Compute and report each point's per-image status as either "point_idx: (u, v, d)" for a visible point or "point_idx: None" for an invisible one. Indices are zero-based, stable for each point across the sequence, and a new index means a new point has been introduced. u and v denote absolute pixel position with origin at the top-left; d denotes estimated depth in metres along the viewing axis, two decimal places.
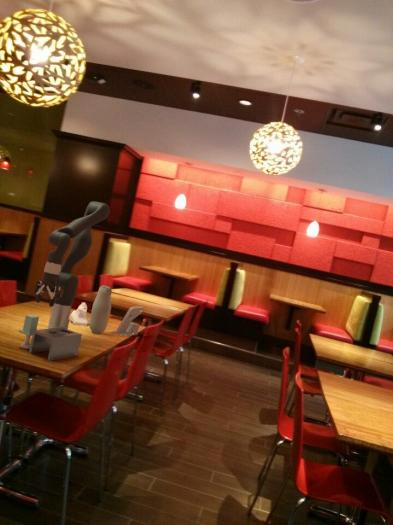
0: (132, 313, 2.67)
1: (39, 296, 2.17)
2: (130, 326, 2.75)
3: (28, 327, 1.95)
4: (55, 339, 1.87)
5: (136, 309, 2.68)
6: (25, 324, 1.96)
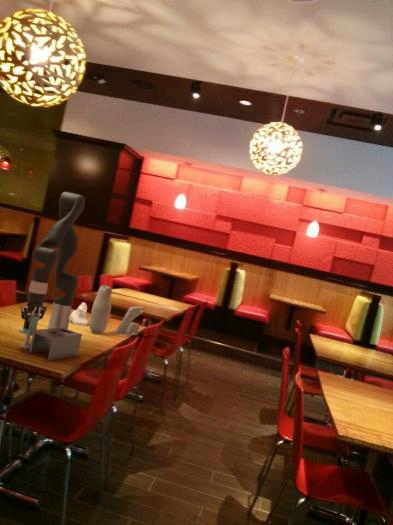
0: (132, 313, 2.66)
1: None
2: (130, 326, 2.74)
3: None
4: (55, 339, 1.87)
5: (136, 309, 2.68)
6: None
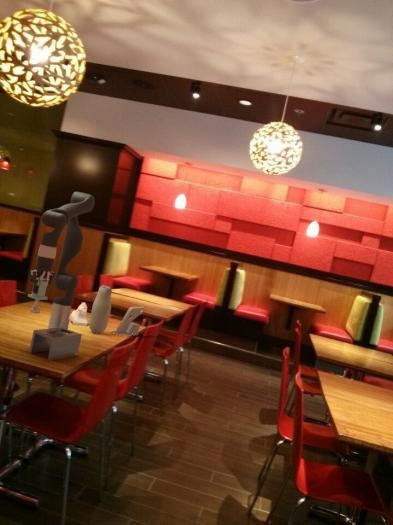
0: (132, 313, 2.66)
1: None
2: (130, 326, 2.74)
3: None
4: (55, 339, 1.87)
5: (136, 309, 2.67)
6: None
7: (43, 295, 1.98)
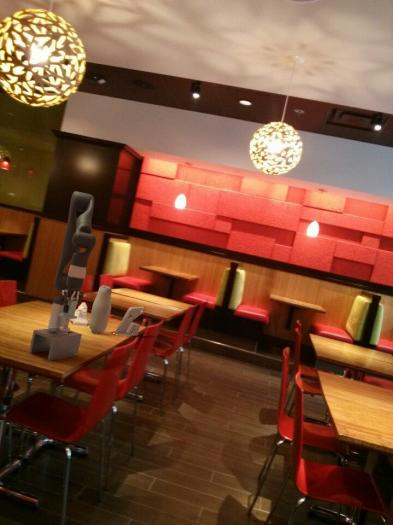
0: (132, 313, 2.66)
1: None
2: (131, 326, 2.74)
3: None
4: (55, 339, 1.87)
5: (136, 309, 2.67)
6: None
7: (73, 314, 2.01)
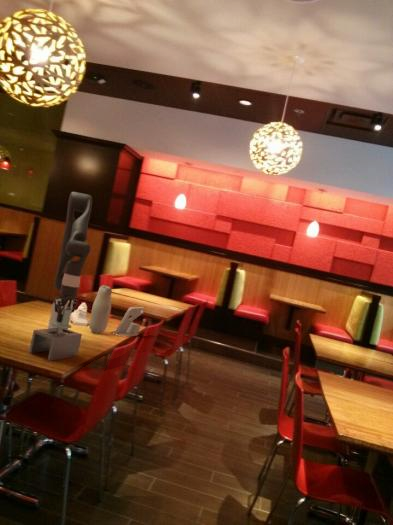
0: (131, 313, 2.65)
1: None
2: (131, 327, 2.73)
3: None
4: (55, 339, 1.87)
5: (136, 309, 2.67)
6: None
7: (67, 323, 1.98)
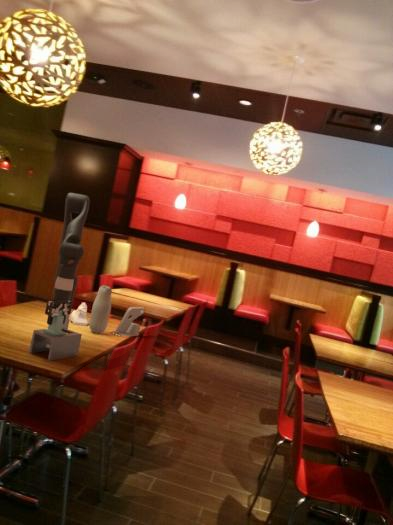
0: (131, 313, 2.65)
1: None
2: (131, 327, 2.73)
3: (54, 326, 1.92)
4: (55, 339, 1.87)
5: (136, 309, 2.66)
6: None
7: (59, 330, 1.95)
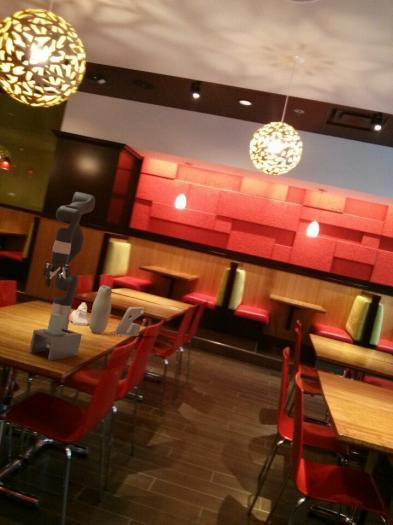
0: (131, 313, 2.65)
1: None
2: (131, 327, 2.73)
3: (54, 326, 1.92)
4: (55, 339, 1.87)
5: (135, 309, 2.66)
6: (50, 323, 1.93)
7: (59, 330, 1.95)
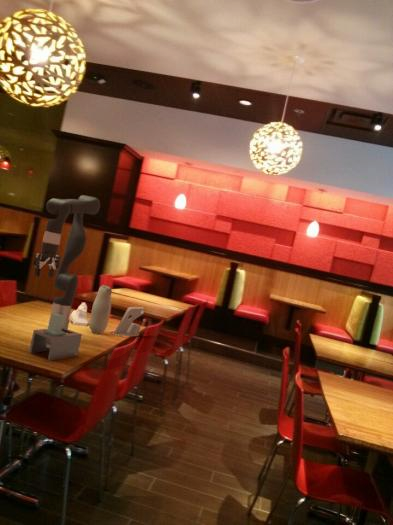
0: (131, 313, 2.65)
1: None
2: (131, 327, 2.73)
3: (54, 326, 1.92)
4: (55, 339, 1.87)
5: (135, 309, 2.66)
6: (50, 323, 1.93)
7: (59, 330, 1.95)
